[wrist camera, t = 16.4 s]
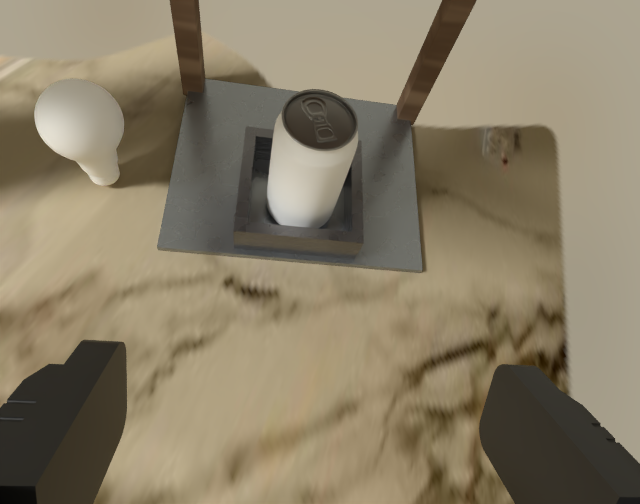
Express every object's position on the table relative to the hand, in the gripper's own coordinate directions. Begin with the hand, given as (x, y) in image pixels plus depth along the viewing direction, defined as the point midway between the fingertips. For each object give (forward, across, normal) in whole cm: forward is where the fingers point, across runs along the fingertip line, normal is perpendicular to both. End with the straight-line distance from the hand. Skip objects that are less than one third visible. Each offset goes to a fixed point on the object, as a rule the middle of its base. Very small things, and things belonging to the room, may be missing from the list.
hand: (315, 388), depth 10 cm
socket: (+38, -2, +2) cm, 38 cm away
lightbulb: (+36, +16, +4) cm, 39 cm away
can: (+34, -2, +4) cm, 35 cm away
